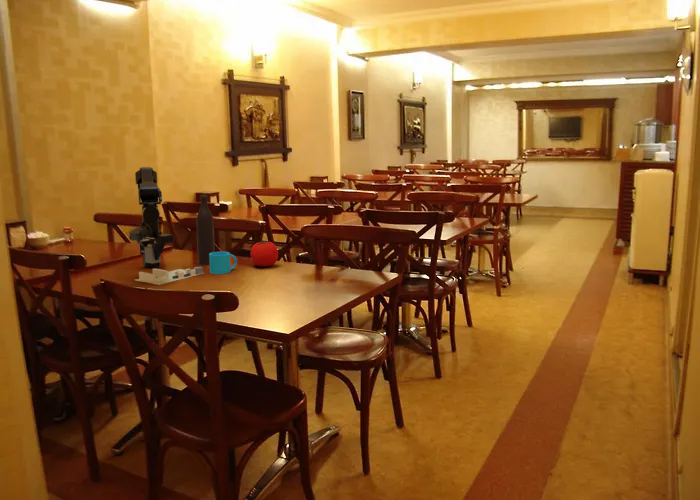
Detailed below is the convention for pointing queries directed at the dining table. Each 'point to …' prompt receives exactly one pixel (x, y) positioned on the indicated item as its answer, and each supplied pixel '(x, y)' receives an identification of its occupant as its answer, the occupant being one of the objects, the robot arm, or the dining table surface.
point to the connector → (150, 255)
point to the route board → (171, 274)
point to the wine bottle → (204, 232)
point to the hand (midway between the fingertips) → (153, 259)
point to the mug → (221, 262)
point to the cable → (184, 276)
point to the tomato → (264, 253)
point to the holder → (154, 275)
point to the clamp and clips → (192, 272)
